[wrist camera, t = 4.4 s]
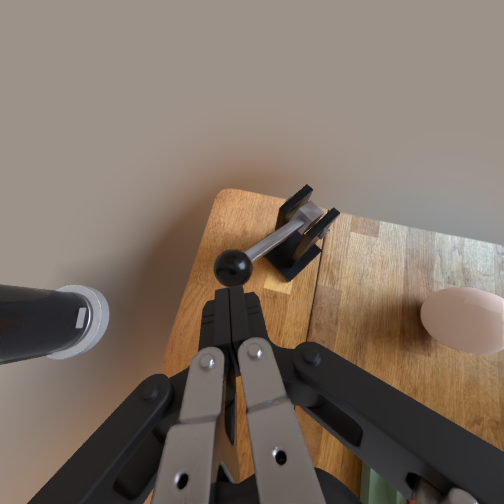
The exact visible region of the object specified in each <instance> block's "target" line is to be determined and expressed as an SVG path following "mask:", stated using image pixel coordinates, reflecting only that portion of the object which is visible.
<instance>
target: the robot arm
mask: <svg viewBox="0 0 504 504" xmlns="http://www.w3.org/2000/svg"><path fill="white" fill-rule="evenodd" d="M92 322H93V307H92V305H91V303H90V301H89V300H88V299H87V298H86V297H85V296H84V295H82V294H80V293H76V292H62V291H54V290H45V289H36V288H27V287H18V286H10V285H1V284H0V365H2V364H7V363H12V362H17V361H21V360H27V359H31V358H37V357H42V356H47V355H51V354H52V353H53V352H58V351H64V350H67V349H70V348H72V347H74V346H76V345H77V344H78V343H80V342H81V341H82V340H83V339H84V338H85V336H86V335H87V333H88V332H89V330H90V328H91V325H92ZM237 376H241V378H242V384H243V390H244V397H245V403H246V419H247V426H248V432H249V438H250V445H251V451H252V457H253V464H254V470H255V474H253V475H252V476H250V477H248V478H247V479H245V480H244V481H242V482H240V473H239V461H238V454H237V392H236V377H237ZM292 404H293V405H299V406H300V407H301V408H302V409H303V410H304V411H305V412H306V413H307V414H309V415H310V416H311V417H312V418H313V419H314V420H316V421H317V422H318V423H319V424H320V425H321V426H323V427H324V428H325V429H326V430H327V431H328V432H330V433H331V434H332V435H333V436H334V437H335V438H337V439H338V440H339V441H340V442H341V443H342V444H344V445H345V446H346V447H347V448H348V449H349V450H351V451H352V452H353V453H354V454H355V455H356V456H358V457H359V458H360V459H361V460H362V461H363V462H365V463H366V464H367V465H368V466H369V467H370V468H371V469H373V470H374V471H375V472H376V473H377V474H378V475H380V476H381V477H382V478H383V479H384V480H385V481H387V482H388V483H389V484H390V485H391V486H392V487H394V488H395V489H396V490H397V491H398V492H399V493H401V494H402V495H403V496H404V497H405V498H406V499H408V500H409V501H410V504H504V452H503V451H501V450H499V449H498V448H496V447H494V446H493V445H491V444H489V443H487V442H486V441H484V440H482V439H481V438H479V437H477V436H476V435H474V434H472V433H470V432H469V431H467V430H465V429H464V428H462V427H460V426H458V425H457V424H455V423H453V422H452V421H450V420H448V419H447V418H445V417H443V416H441V415H440V414H438V413H436V412H435V411H433V410H431V409H429V408H428V407H426V406H424V405H423V404H421V403H419V402H417V401H416V400H414V399H412V398H411V397H409V396H407V395H406V394H404V393H402V392H400V391H399V390H397V389H395V388H394V387H392V386H390V385H388V384H387V383H385V382H383V381H382V380H380V379H378V378H377V377H375V376H373V375H371V374H370V373H368V372H366V371H365V370H363V369H361V368H359V367H358V366H356V365H354V364H353V363H351V362H349V361H347V360H346V359H344V358H342V357H341V356H339V355H337V354H336V353H334V352H332V351H330V350H329V349H327V348H325V347H324V346H322V345H320V344H318V343H315V342H303V343H301V344H299V345H298V346H297V347H296V348H295V349H287V348H281V347H278V346H276V345H275V344H273V343H272V342H271V341H270V339H269V337H268V334H267V330H266V326H265V321H264V317H263V313H262V309H261V305H260V300H259V297H258V296H257V295H256V294H255V293H254V292H249V293H245V294H244V289H243V285H237V286H232V287H228V288H223V289H218V290H215V300H211V301H207V303H206V304H205V306H204V308H203V311H202V320H201V329H200V339H199V348H198V353H197V354H196V355H195V356H194V357H193V359H192V361H191V364H190V366H189V367H188V368H186V369H185V370H183V371H182V372H180V373H178V374H176V375H174V376H172V377H170V378H168V377H167V376H166V375H164V374H155V375H152V376H150V377H148V378H146V379H145V380H144V381H142V382H141V383H140V384H139V385H138V387H137V388H136V389H135V390H134V391H133V392H132V393H131V394H130V395H129V396H128V397H127V398H126V399H125V400H124V402H122V404H121V405H120V406H119V407H118V408H117V409H116V410H115V411H114V412H113V413H112V414H111V415H110V416H109V417H108V418H107V419H106V420H105V422H104V423H103V424H102V425H101V426H100V427H99V428H98V429H97V430H96V431H95V432H94V433H93V434H92V435H91V436H90V438H89V439H88V440H87V441H86V442H85V443H84V444H83V445H82V446H81V447H80V448H79V449H78V450H77V451H76V452H75V453H74V454H73V456H72V457H71V458H70V459H69V460H68V461H67V462H66V463H65V464H64V465H63V466H62V467H61V468H60V469H59V470H58V471H57V473H56V474H55V475H54V476H53V477H52V478H51V479H50V480H49V481H48V482H47V483H46V484H45V485H44V486H43V487H42V488H41V490H40V491H39V492H38V493H37V494H36V495H35V496H34V497H33V498H32V499H31V500H30V501H29V502H28V503H27V504H143V503H144V502H145V500H146V499H147V497H148V495H149V494H150V493H151V491H152V490H153V488H154V490H153V495H152V499H151V503H150V504H363V503H362V502H361V501H360V500H359V499H358V498H357V497H356V496H355V495H354V494H353V493H352V491H351V490H350V489H349V488H348V487H346V486H345V485H344V484H343V483H342V482H341V481H339V480H338V479H337V478H336V477H334V476H333V475H331V474H329V473H328V472H326V471H324V470H322V469H320V468H316V467H313V464H312V461H311V458H310V455H309V452H308V449H307V446H306V443H305V440H304V437H303V434H302V431H301V429H300V426H299V423H298V420H297V417H296V414H295V411H294V408H293V405H292Z"/></svg>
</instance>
